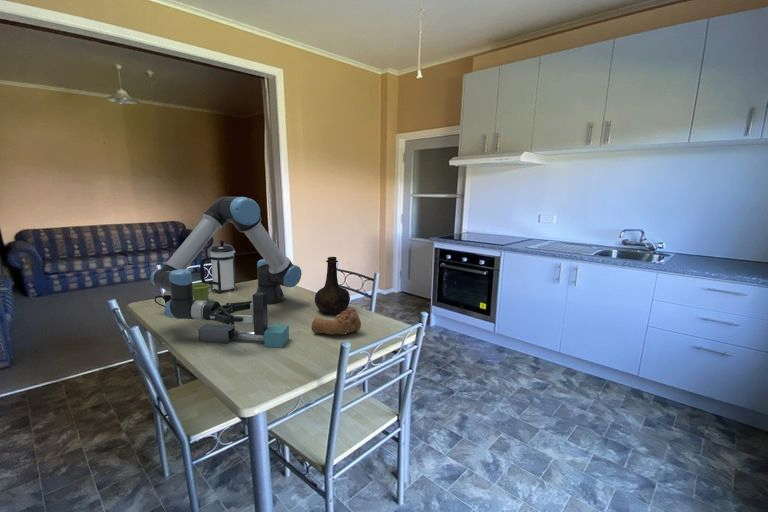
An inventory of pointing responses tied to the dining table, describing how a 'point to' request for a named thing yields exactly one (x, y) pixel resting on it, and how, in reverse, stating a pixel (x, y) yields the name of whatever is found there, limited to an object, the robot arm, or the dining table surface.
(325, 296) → the glass bottle
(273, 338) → the socket block
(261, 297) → the dark lever handle
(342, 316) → the clay pipe
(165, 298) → the coffee mug
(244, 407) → the dining table surface
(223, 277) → the coffee press
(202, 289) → the plant pot
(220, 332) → the outer sleeve
